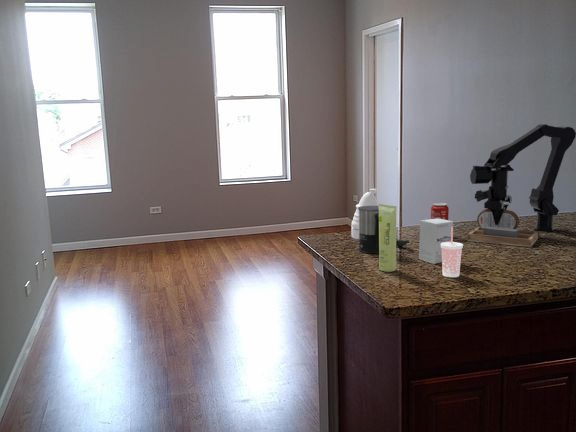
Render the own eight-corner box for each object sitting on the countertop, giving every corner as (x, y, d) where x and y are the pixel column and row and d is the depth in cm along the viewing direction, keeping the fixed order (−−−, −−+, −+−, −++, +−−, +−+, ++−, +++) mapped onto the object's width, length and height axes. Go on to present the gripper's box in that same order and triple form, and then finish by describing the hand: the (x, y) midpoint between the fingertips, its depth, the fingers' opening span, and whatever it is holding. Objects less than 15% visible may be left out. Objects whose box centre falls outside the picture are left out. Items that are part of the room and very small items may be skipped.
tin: (518, 232, 219) (519, 210, 218) (517, 234, 217) (518, 211, 215) (478, 228, 227) (478, 207, 226) (475, 230, 225) (476, 208, 223)
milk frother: (352, 251, 197) (352, 207, 194) (379, 242, 208) (380, 201, 205) (387, 257, 187) (387, 212, 185) (414, 248, 198) (415, 205, 196)
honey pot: (392, 235, 219) (393, 188, 216) (372, 241, 210) (373, 192, 207) (364, 231, 228) (364, 185, 225) (344, 237, 219) (344, 189, 215)
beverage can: (446, 234, 219) (447, 202, 217) (449, 237, 213) (450, 205, 211) (429, 234, 220) (429, 202, 218) (431, 237, 214) (432, 205, 212)
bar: (518, 240, 203) (519, 229, 202) (515, 242, 200) (515, 231, 199) (486, 237, 210) (487, 226, 209) (483, 239, 207) (483, 228, 206)
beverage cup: (449, 279, 162) (450, 229, 160) (435, 273, 168) (436, 225, 165) (466, 276, 164) (468, 227, 162) (452, 271, 170) (453, 223, 167)
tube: (376, 271, 171) (376, 205, 168) (378, 267, 176) (378, 203, 172) (395, 272, 170) (396, 206, 166) (397, 268, 174) (398, 203, 171)
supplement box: (434, 264, 177) (435, 223, 175) (418, 259, 184) (419, 219, 182) (452, 261, 181) (454, 221, 179) (436, 256, 187) (437, 217, 185)
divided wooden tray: (477, 233, 219) (477, 226, 219) (537, 238, 208) (538, 231, 208) (467, 240, 207) (467, 234, 207) (530, 247, 196) (530, 239, 196)
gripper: (483, 179, 231) (481, 218, 233) (470, 185, 215) (469, 226, 218) (513, 180, 225) (511, 220, 228) (502, 186, 209) (500, 229, 212)
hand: (497, 224), depth 221 cm, fingers closed on tin, 2 cm apart
